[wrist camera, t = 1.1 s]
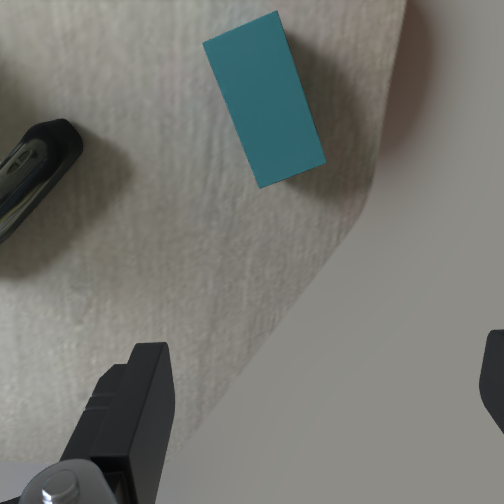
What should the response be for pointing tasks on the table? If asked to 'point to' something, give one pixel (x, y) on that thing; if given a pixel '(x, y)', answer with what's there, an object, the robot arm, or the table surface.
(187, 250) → the table surface
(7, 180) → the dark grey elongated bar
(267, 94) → the block
